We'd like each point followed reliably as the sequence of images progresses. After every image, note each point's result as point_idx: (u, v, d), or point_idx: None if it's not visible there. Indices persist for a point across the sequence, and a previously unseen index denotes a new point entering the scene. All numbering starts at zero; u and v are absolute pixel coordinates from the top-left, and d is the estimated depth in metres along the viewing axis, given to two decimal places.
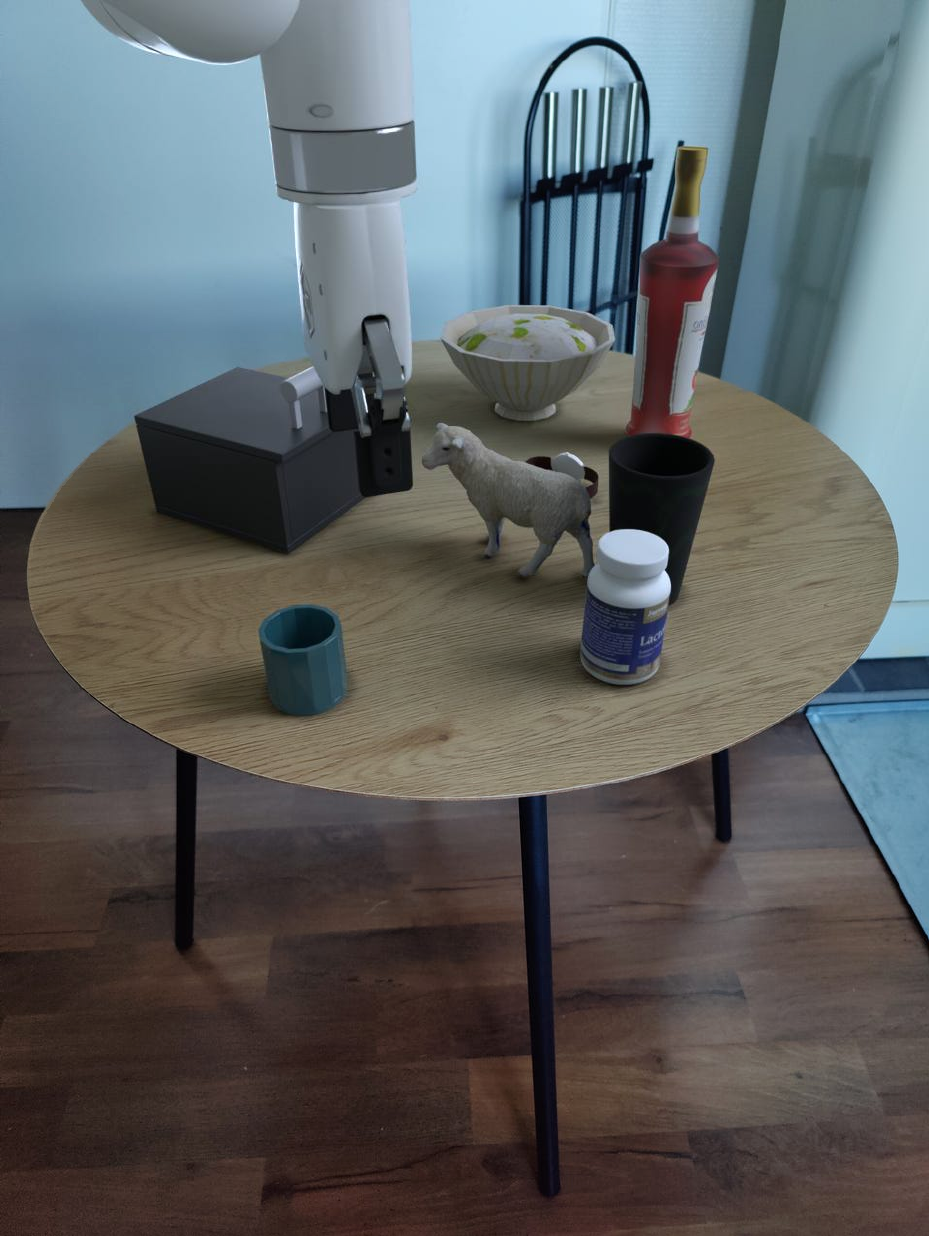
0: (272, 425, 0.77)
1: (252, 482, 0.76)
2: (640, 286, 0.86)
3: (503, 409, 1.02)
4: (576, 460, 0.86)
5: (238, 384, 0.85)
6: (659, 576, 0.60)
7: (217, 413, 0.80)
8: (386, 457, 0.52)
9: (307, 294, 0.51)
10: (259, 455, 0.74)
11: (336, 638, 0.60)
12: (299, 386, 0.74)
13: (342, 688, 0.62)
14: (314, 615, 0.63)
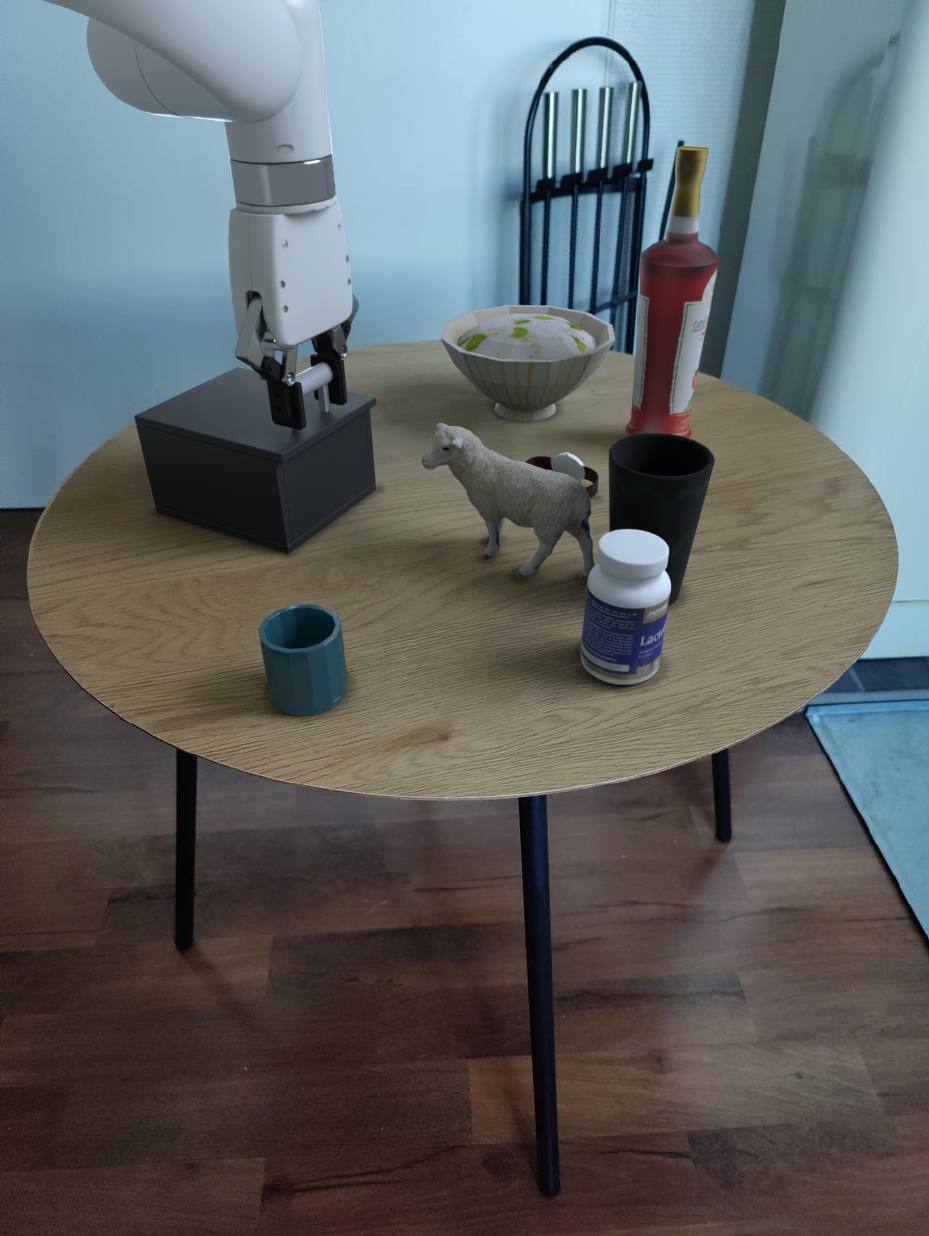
0: (272, 425, 0.77)
1: (252, 482, 0.76)
2: (640, 286, 0.86)
3: (503, 409, 1.02)
4: (576, 460, 0.86)
5: (238, 384, 0.85)
6: (659, 576, 0.60)
7: (217, 413, 0.80)
8: (277, 398, 0.74)
9: None
10: (259, 455, 0.74)
11: (336, 638, 0.60)
12: None
13: (342, 688, 0.62)
14: (314, 615, 0.63)
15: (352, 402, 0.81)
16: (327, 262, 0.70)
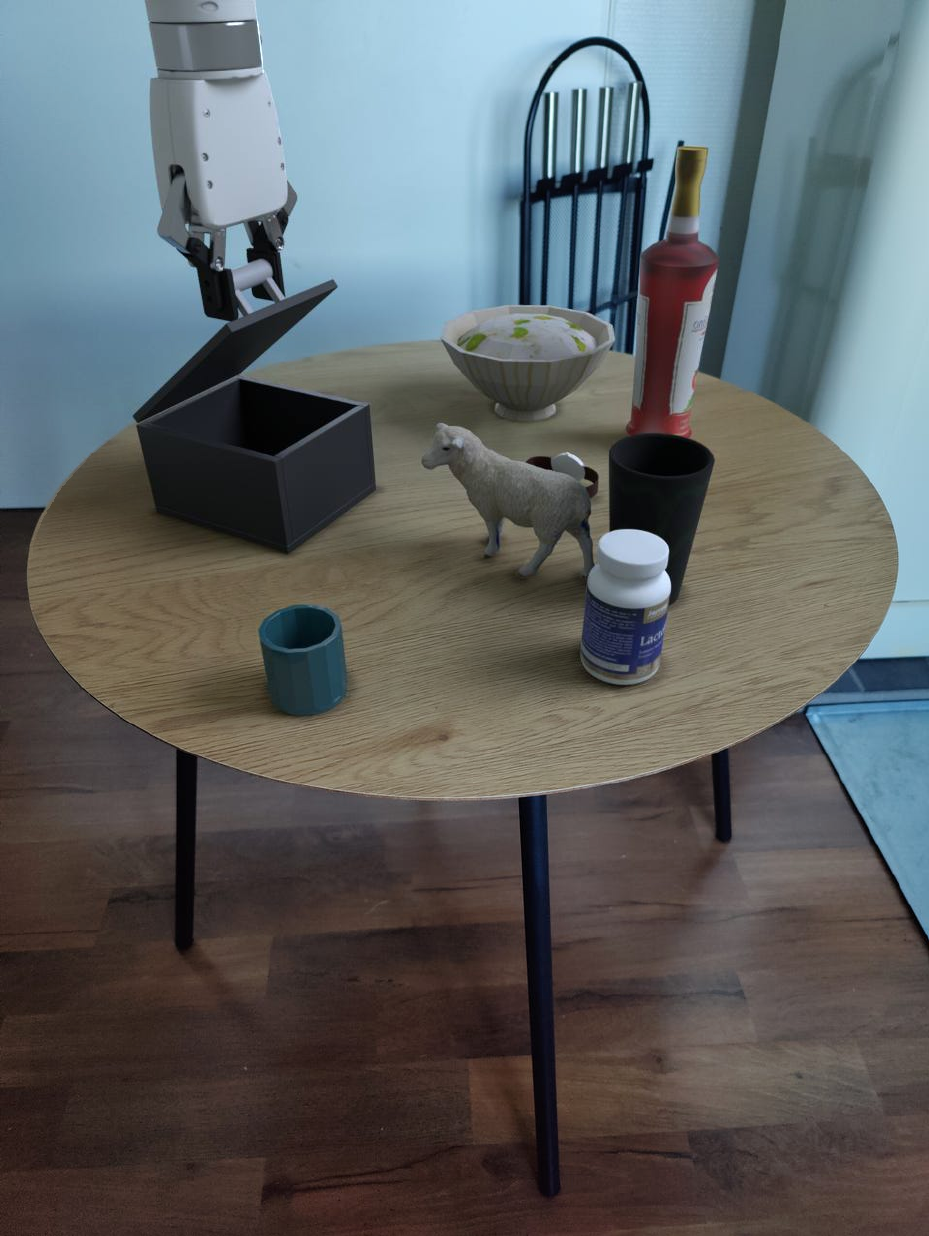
0: None
1: (252, 482, 0.76)
2: (640, 286, 0.86)
3: (503, 409, 1.02)
4: (576, 460, 0.86)
5: None
6: (659, 576, 0.60)
7: None
8: (207, 287, 0.71)
9: None
10: (215, 345, 0.70)
11: (336, 638, 0.60)
12: None
13: (342, 688, 0.62)
14: (314, 615, 0.63)
15: None
16: (256, 140, 0.68)
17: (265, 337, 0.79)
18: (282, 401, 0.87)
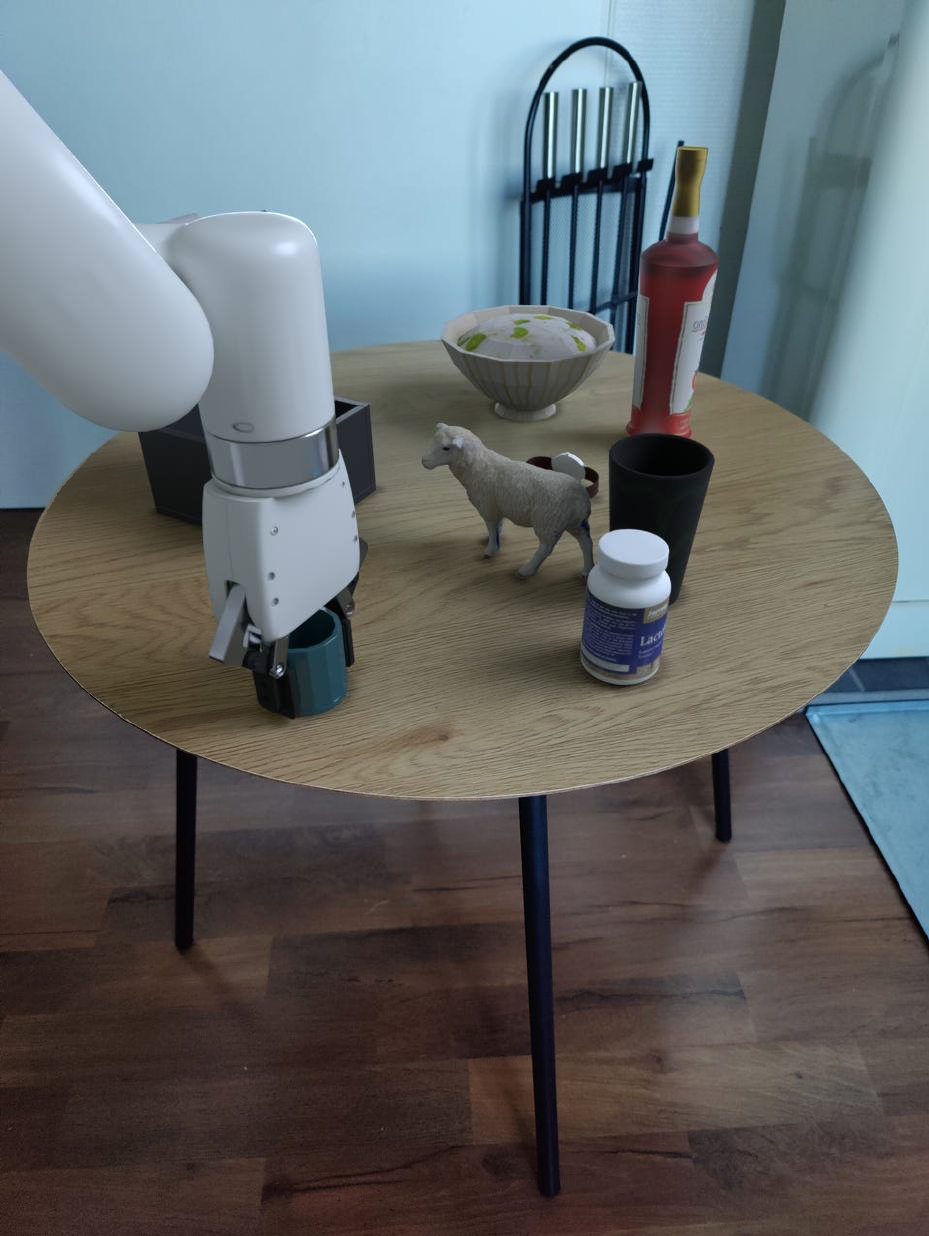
0: None
1: None
2: (640, 286, 0.86)
3: (503, 409, 1.02)
4: (577, 460, 0.86)
5: None
6: (659, 576, 0.60)
7: None
8: (264, 687, 0.59)
9: None
10: None
11: (336, 638, 0.60)
12: (155, 223, 0.73)
13: (342, 688, 0.62)
14: (314, 615, 0.63)
15: None
16: (328, 531, 0.56)
17: None
18: None
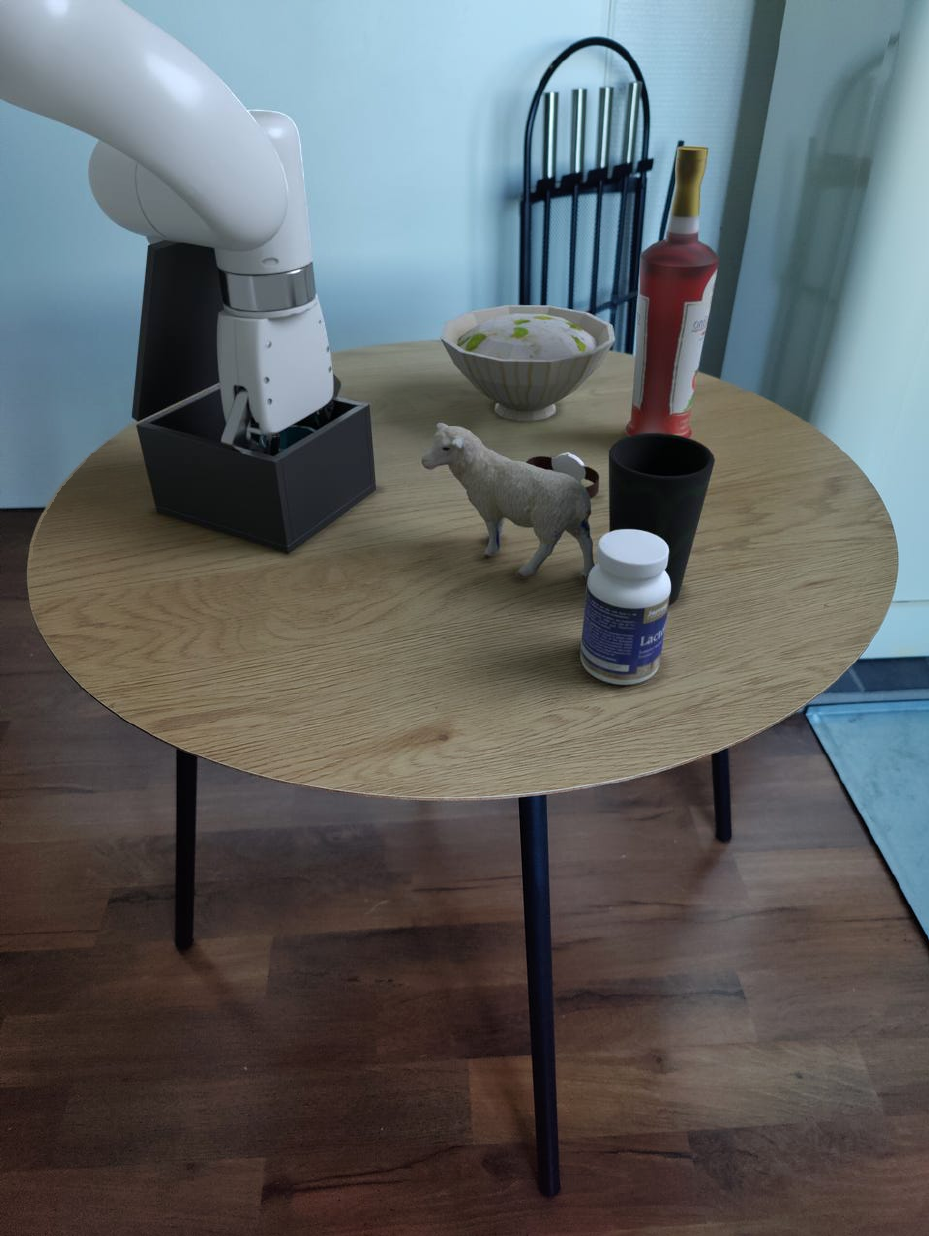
0: None
1: (252, 482, 0.76)
2: (640, 286, 0.86)
3: (503, 409, 1.02)
4: (577, 460, 0.86)
5: None
6: (659, 576, 0.60)
7: None
8: None
9: None
10: (151, 277, 0.70)
11: None
12: None
13: None
14: (300, 433, 0.83)
15: None
16: (308, 355, 0.76)
17: None
18: None
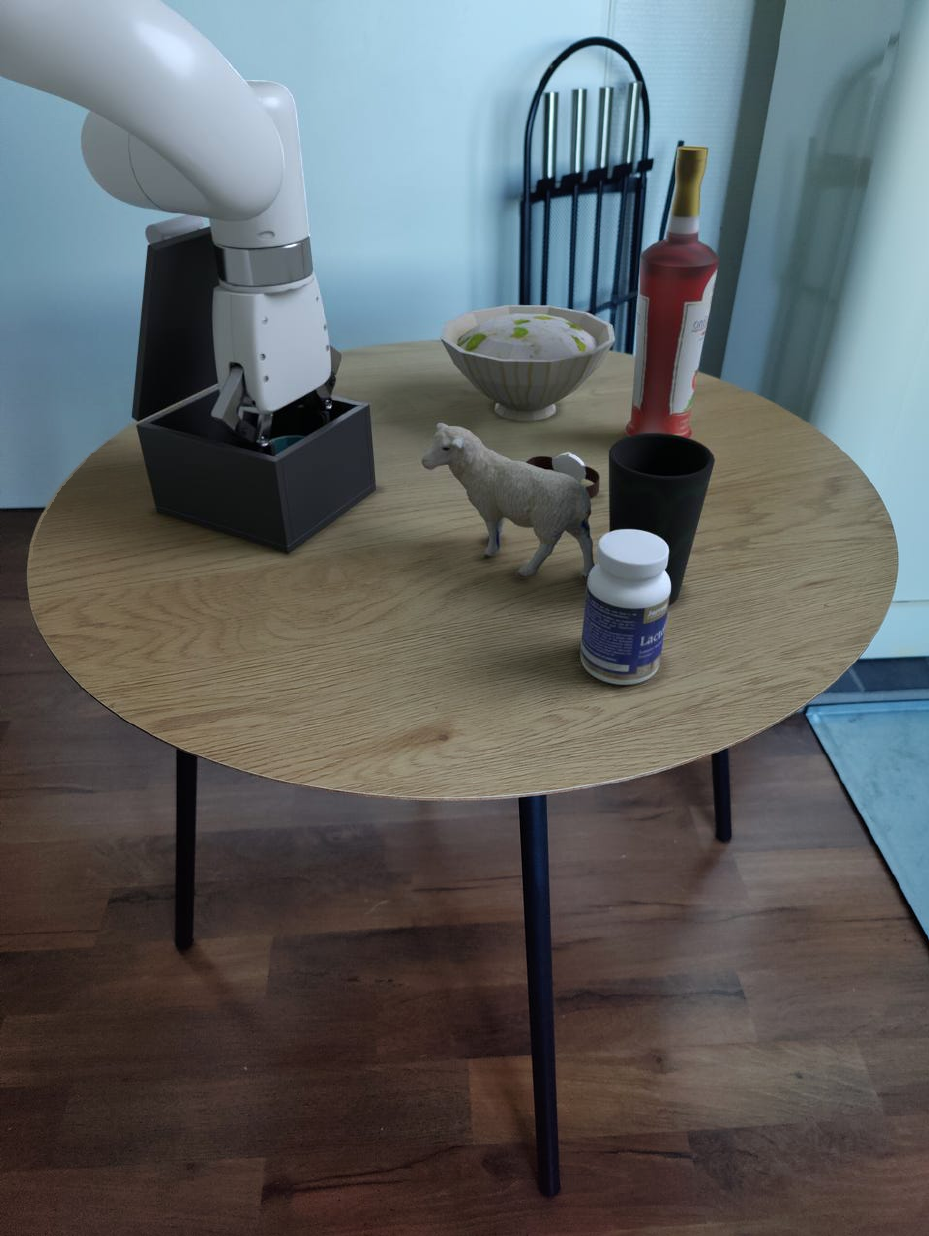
0: None
1: (252, 482, 0.76)
2: (640, 286, 0.86)
3: (503, 409, 1.02)
4: (577, 460, 0.86)
5: None
6: (659, 576, 0.60)
7: None
8: None
9: None
10: (150, 277, 0.70)
11: None
12: (155, 223, 0.73)
13: None
14: None
15: None
16: (305, 333, 0.75)
17: None
18: None
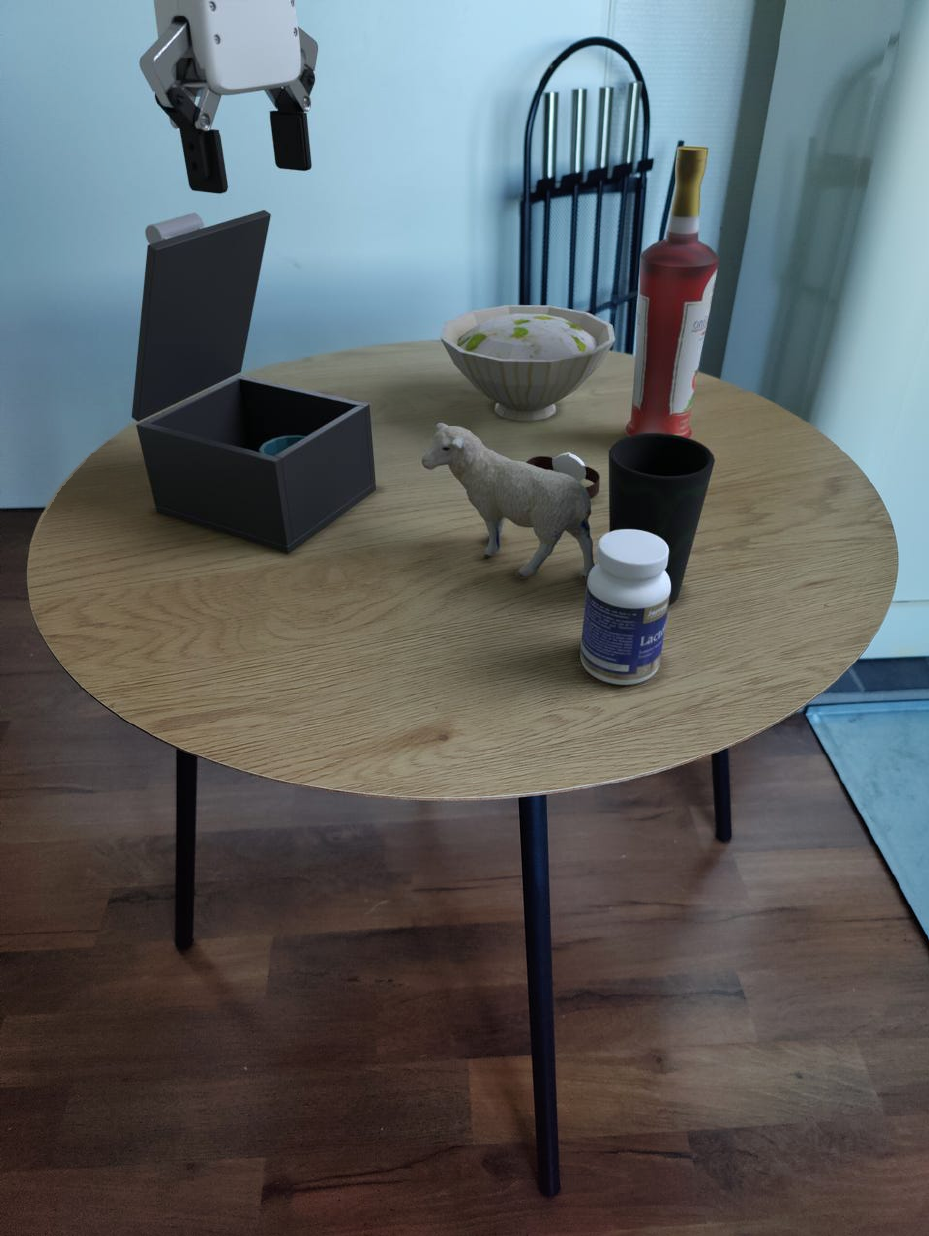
0: None
1: (252, 482, 0.76)
2: (640, 286, 0.86)
3: (503, 409, 1.02)
4: (577, 460, 0.86)
5: None
6: (659, 576, 0.60)
7: None
8: (191, 151, 0.63)
9: None
10: (150, 277, 0.70)
11: None
12: (155, 223, 0.73)
13: None
14: None
15: None
16: None
17: (224, 292, 0.79)
18: (282, 401, 0.87)
